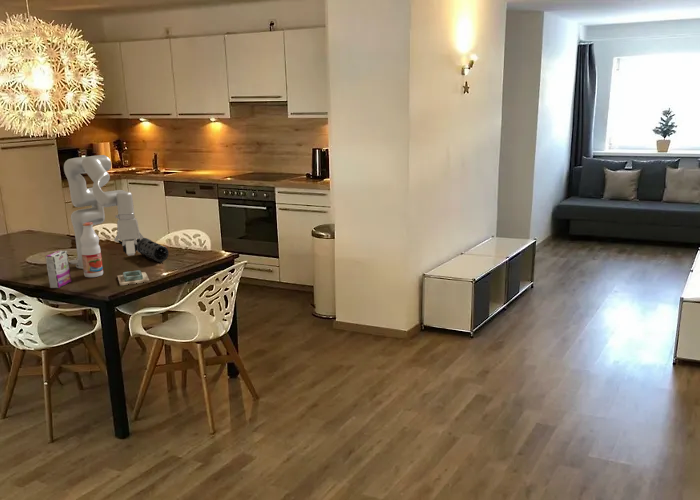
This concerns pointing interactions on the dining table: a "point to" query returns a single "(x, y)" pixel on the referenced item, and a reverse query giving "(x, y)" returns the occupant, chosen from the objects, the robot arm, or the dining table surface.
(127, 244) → the block
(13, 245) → the dining table surface
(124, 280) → the holder
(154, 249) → the muzzle brake
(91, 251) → the fruit juice
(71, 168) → the robot arm
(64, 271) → the candy bar box
